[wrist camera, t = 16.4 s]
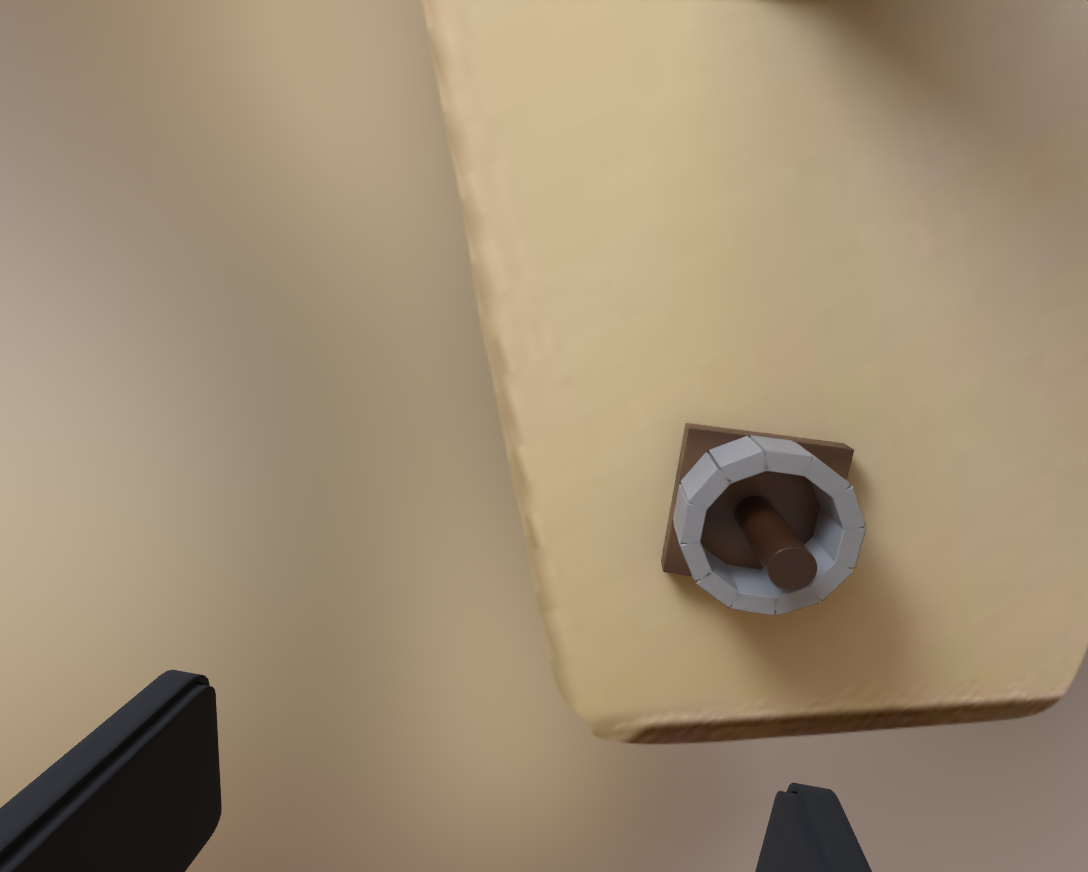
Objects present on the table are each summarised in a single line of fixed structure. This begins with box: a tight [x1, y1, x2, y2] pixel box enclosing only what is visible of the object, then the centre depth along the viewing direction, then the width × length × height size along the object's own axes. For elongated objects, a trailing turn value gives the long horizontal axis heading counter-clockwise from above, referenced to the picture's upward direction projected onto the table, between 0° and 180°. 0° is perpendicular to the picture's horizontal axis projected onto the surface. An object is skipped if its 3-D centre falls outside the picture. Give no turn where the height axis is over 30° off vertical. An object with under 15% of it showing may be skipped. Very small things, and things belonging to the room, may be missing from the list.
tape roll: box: [673, 435, 866, 616], centre depth 33 cm, size 10×10×4 cm
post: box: [661, 423, 854, 590], centre depth 32 cm, size 10×10×9 cm
